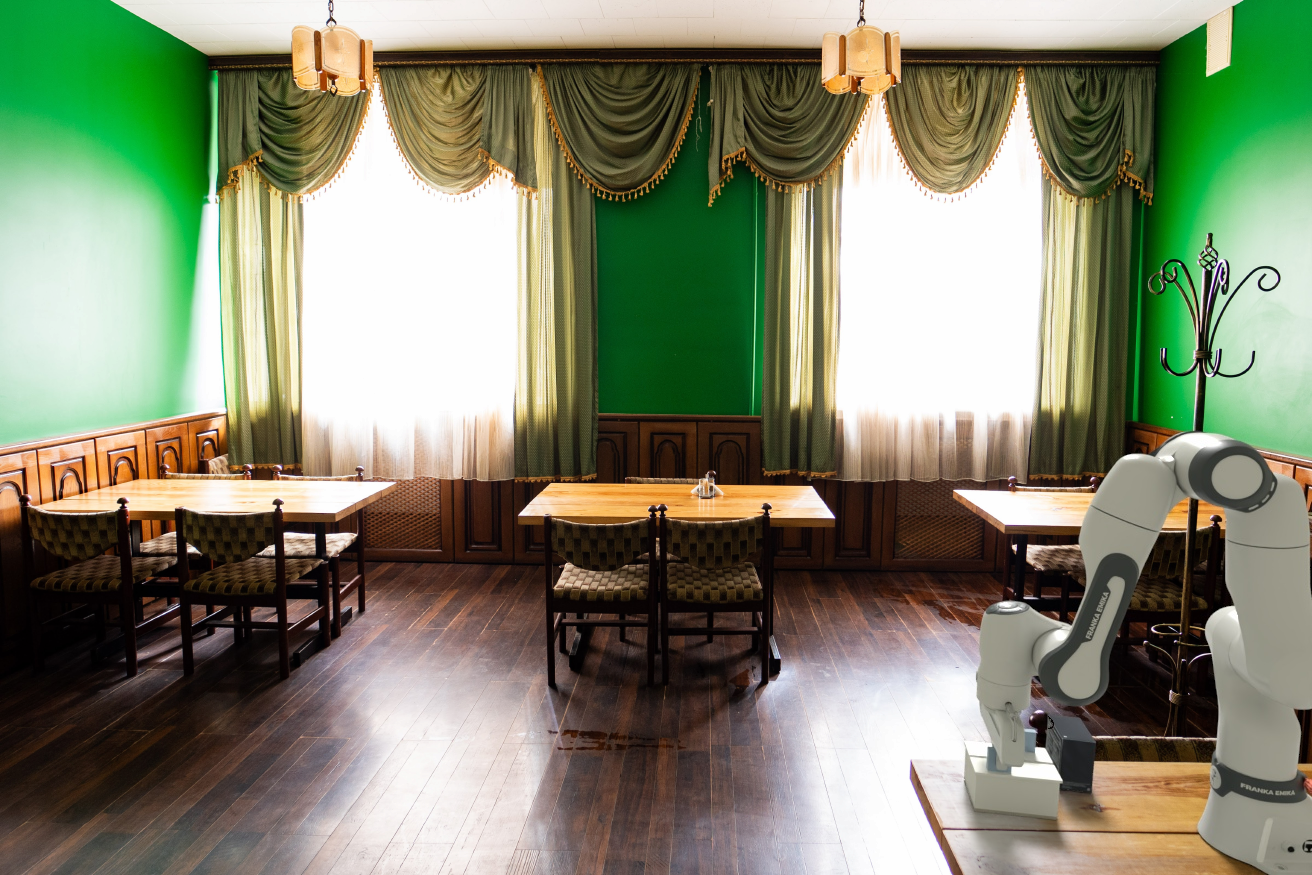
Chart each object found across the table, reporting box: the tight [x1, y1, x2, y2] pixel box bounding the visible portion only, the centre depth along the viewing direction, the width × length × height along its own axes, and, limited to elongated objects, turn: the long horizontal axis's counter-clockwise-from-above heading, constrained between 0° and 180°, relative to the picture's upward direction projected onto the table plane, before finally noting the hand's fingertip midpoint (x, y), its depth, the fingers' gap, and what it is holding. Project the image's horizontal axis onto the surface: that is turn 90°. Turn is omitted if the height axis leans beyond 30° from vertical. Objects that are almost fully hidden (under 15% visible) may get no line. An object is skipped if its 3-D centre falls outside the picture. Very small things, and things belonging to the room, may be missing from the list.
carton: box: [963, 748, 1060, 821], centre depth 152 cm, size 14×11×7 cm
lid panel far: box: [963, 728, 1053, 765], centre depth 154 cm, size 15×5×4 cm, turn 79°
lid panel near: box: [970, 747, 1063, 784], centre depth 148 cm, size 15×5×4 cm, turn 79°
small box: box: [1044, 713, 1097, 794], centre depth 159 cm, size 11×6×10 cm, turn 168°
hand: (999, 764), depth 147 cm, fingers closed on lid panel near
